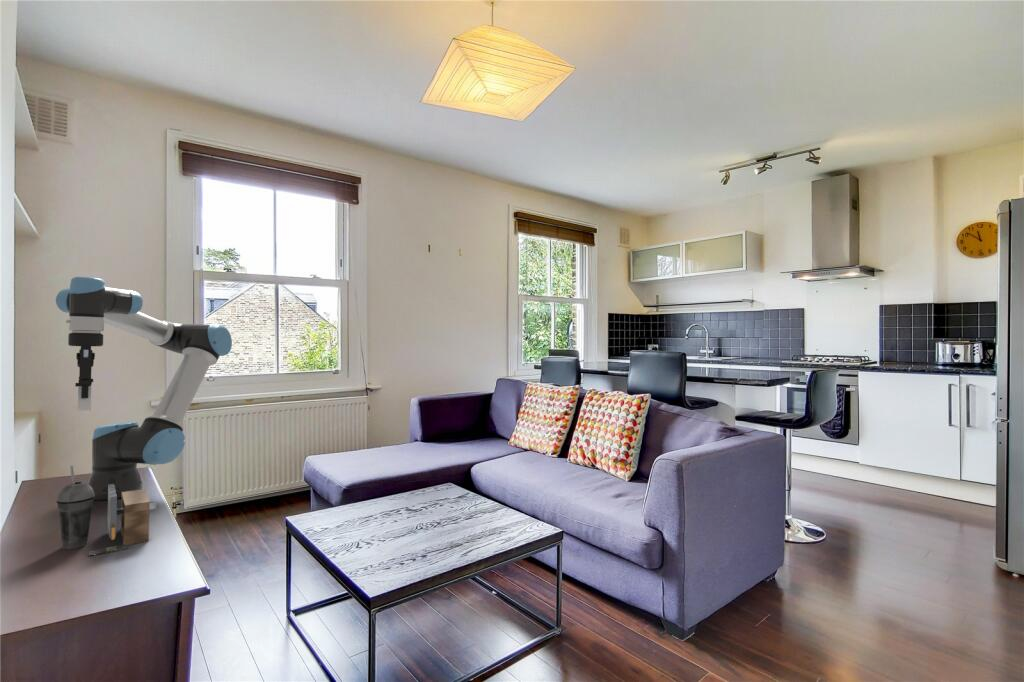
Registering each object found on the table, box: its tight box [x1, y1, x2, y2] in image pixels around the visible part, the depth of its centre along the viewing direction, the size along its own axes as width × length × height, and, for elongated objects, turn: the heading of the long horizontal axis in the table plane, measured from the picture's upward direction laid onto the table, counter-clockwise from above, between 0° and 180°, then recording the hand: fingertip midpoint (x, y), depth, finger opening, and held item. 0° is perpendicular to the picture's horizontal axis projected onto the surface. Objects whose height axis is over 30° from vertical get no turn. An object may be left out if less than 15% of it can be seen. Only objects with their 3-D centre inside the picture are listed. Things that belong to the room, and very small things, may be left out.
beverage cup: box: [56, 465, 95, 550], centre depth 124 cm, size 7×7×20 cm
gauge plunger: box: [106, 484, 158, 541], centre depth 131 cm, size 10×16×10 cm, turn 41°
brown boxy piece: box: [88, 488, 150, 557], centre depth 128 cm, size 12×17×10 cm
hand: (84, 407), depth 141 cm, fingers open, 13 cm apart
